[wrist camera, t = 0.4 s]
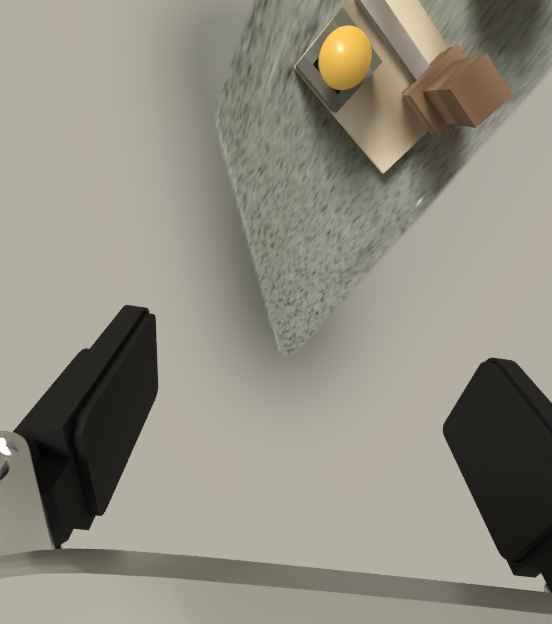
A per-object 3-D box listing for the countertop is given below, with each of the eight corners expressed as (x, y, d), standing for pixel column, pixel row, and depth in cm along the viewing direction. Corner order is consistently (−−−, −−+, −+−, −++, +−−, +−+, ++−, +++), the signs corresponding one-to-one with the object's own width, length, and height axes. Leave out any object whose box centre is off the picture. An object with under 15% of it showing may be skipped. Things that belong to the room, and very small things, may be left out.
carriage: (442, 50, 26) (495, 32, 19) (470, 93, 27) (529, 90, 21) (399, 95, 28) (433, 93, 21) (427, 133, 29) (468, 143, 22)
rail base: (381, -42, 25) (402, -75, 20) (466, 88, 29) (500, 86, 24) (293, 68, 28) (294, 62, 24) (379, 170, 32) (394, 182, 28)
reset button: (338, 26, 24) (348, 10, 20) (366, 64, 25) (382, 57, 21) (305, 66, 25) (308, 60, 21) (334, 101, 27) (342, 101, 22)
